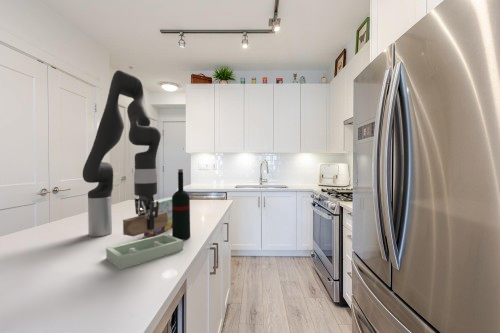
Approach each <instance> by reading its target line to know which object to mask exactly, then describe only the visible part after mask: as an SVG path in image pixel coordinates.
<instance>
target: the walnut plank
mask: <svg viewBox="0 0 500 333" xmlns="http://www.w3.org/2000/svg"><path fill="white" fill-rule="evenodd" d="M154 213H155V212H154ZM149 216H150V213H149ZM147 220H148V219H147V215H146V214H145V215H141V216H138V215H137V216H134V217H129V218H127V219H126V218H125V219H122V222H123V223H122V231H123V233H122V235H123V236H129V237H136V236H140V235H144V233H146V232H149V231H152V230H148V229H147ZM167 225H168V223H167V212H158V217H156V218H155V219H154V229H153V230H155V229H158V228H161V227H164V226H167Z"/></svg>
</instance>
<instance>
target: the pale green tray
mask: <svg viewBox="0 0 500 333" xmlns="http://www.w3.org/2000/svg"><path fill="white" fill-rule="evenodd" d="M105 250H106V251H105V252H106V254H105V255H106V256H105V257H106V260H108V261H109V262H111V263H112V264H114V265H115V266H116V267H118V268H119V269H120V270H124V269H126V268H127V269H128V268H130V267H133V266H137V265H140V264H143V263H145V262H149V261H151V260H155V259H158V258H161V257H165V256H167V255H170V254H174V253H177V252H180V251H183V250H184V240H181V239H178V238H175V237H173V236H172V235H170V234H167V233H161V234H158V235H156V236H154V237H147V238H143V239H139V240H134V241H131V242H126V243H123V244H118V245H114V246H110V247H107V248H105Z"/></svg>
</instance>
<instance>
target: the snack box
mask: <svg viewBox="0 0 500 333" xmlns="http://www.w3.org/2000/svg"><path fill="white" fill-rule="evenodd" d="M154 201H158V202H159V205H158V212H167V223H168V225H167V226H164V227H161V228H158V229H155V230H152V231H149V232H146V233H143V237H148V238H150V237H154V236H158V235H161V234H163V232H166V231H168V230H170V229H172V196H167V197H162V198H159V199H157V200H156V199H154Z"/></svg>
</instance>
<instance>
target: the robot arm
mask: <svg viewBox="0 0 500 333" xmlns="http://www.w3.org/2000/svg"><path fill="white" fill-rule="evenodd" d="M120 95H121V96H125V97H127V98H130V99H131V98H132V101H131V102H130V103H129V104H128V106H127V108H126V109H127V111H126V112H127V117H128V120H129V130H128V140H129V142H130V144H132V145H134V146H144V147H147V146H148V149H147V150H145V151H140V152H137V153H135V154H134V174H133V176H134V177H133V180H134V182H133V186H134V187H133V190H134V191H133V192H134V194H133V195H135V196H137V197H136V198H134V206H135V214H136V215H137V216H141V215H145V214H146V215H147V219H148V220H147V229H148V230H153V229H154V219H155V218H156V217H158V205H159V202H158V201H155V198H154V195H155V196H156V195H157V194H158V174H157V153H158V150H159V145H160V142H161V137H162V134H161V131H160V129H159V128H157V127H156V126H150V125H151V119H150V115H149V113H148V110H147V107H146V100H145V99H146V98H145V90H144V85H143V81H142V80H141V79H140V78H139V77H137V76H134V75H132V74H130V73H127V72H125V71H123V70H120V69H119V70H116V71H115V72H114V74H113V76H112V78H111V82H110V85H109V91H108V95H107V100H106V103H105V107H104V109H103V113H102V116H101V118H100V121H99V124H98V128H97V130H96V135H95V138H94V141H93V144H92V147H91V149H90V152H89V154H88V156H87V159H86V161H85V164H84V166H83V169H82V179H83V180H84V181H85V183H91V184H93V183H97V185H96V187H94V188H93V189H90V190H89V191H88V192H87V218H88V219H87V220H88V221H87V223H88V224H87V225H88V226H87V227H88V229H87V230H88V237H92V238H93V237H95V238H96V237H104V236H107V235H110V234H112V233H113V225H112V224H113V223H112V222H113V220H112V218H113V216H112V215H113V214H112V212H113V211H112V209H113V208H112V207H113V206H112V192H113V190H114V189H113V188H114V168H113V166H112V164H111V163H109V162H106V161H103V159H104V157H105V156H106V155H107V154H108V153H109V152H110V151H111V150H112V149H113V148H115V146H117V144H118V143H120V141H121V138H122V135H123V131H124V129H125V122H124V119H123V116H122V114H121V111H120V107H119V99H120V98H119V97H120ZM154 212H155V213H154ZM149 213H150V216H149Z"/></svg>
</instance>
